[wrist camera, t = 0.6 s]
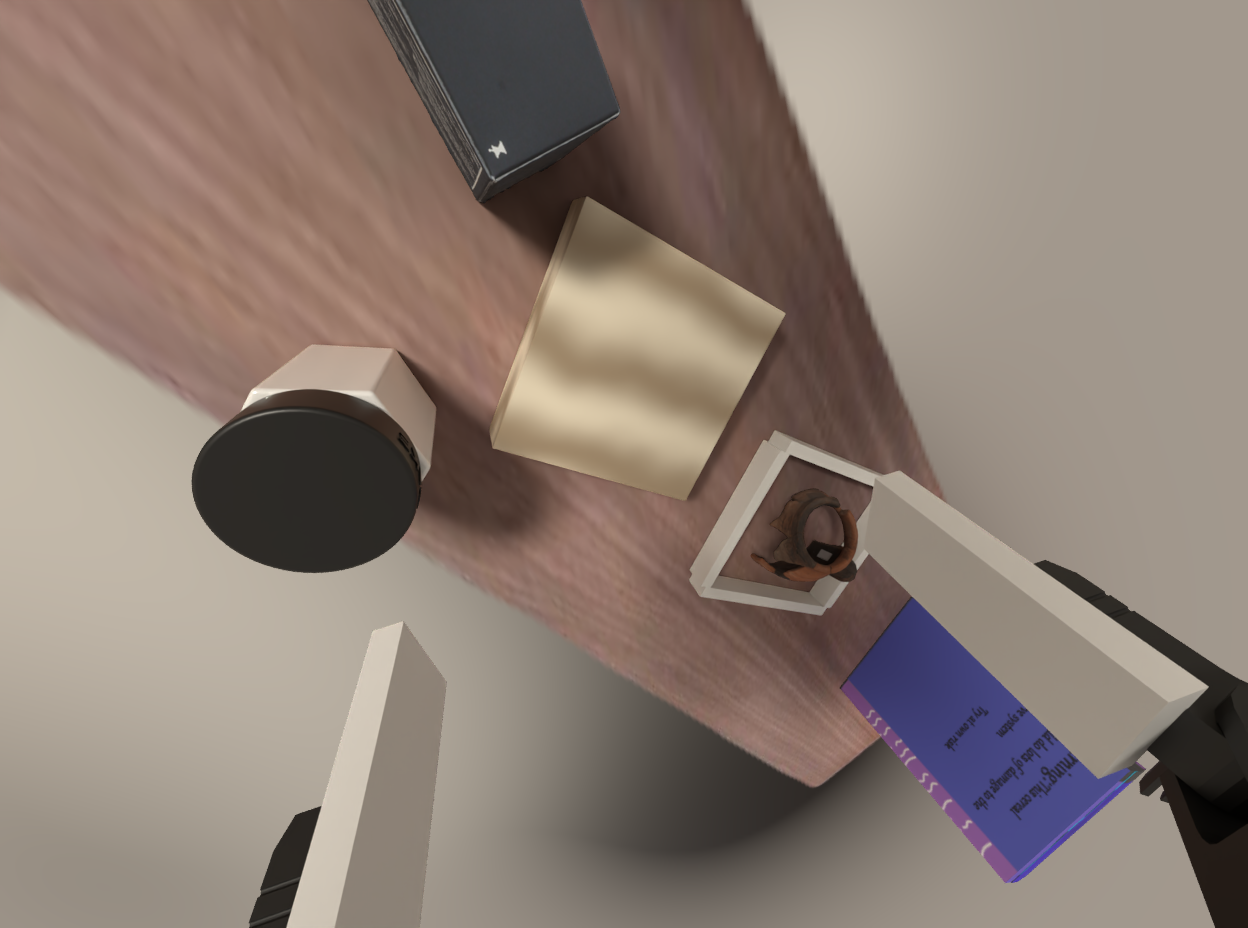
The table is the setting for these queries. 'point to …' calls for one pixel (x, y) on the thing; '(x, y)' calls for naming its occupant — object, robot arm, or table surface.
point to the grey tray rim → (740, 515)
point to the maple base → (629, 357)
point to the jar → (320, 461)
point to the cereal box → (976, 745)
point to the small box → (502, 81)
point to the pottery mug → (817, 556)
